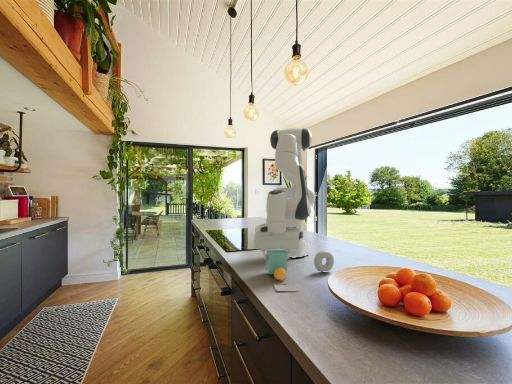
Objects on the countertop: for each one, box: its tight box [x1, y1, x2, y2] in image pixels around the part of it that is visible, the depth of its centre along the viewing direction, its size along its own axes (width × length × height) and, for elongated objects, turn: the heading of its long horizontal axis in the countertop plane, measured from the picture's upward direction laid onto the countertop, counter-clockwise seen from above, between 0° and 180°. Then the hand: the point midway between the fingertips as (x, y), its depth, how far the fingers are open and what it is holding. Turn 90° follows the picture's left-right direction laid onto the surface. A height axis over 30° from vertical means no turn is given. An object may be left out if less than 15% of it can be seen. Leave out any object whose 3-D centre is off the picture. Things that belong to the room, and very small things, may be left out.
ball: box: [273, 268, 287, 281], centre depth 106 cm, size 5×5×5 cm
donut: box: [313, 249, 335, 273], centre depth 116 cm, size 10×3×10 cm, turn 111°
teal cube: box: [265, 249, 288, 275], centre depth 113 cm, size 8×8×9 cm
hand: (276, 259), depth 113 cm, fingers closed on teal cube, 8 cm apart
